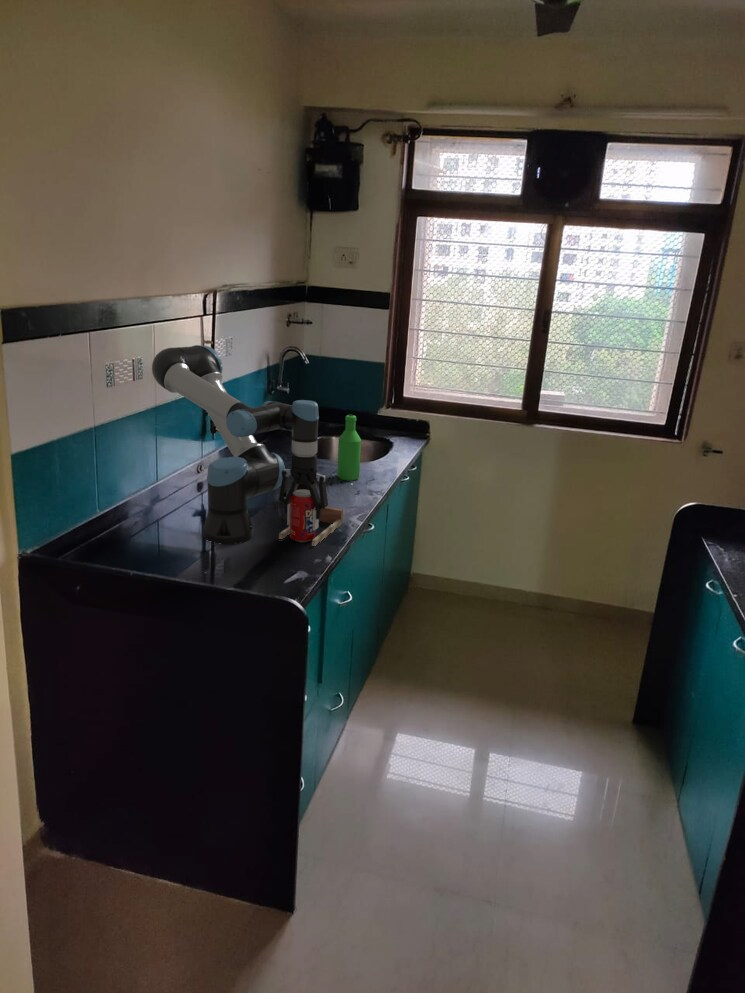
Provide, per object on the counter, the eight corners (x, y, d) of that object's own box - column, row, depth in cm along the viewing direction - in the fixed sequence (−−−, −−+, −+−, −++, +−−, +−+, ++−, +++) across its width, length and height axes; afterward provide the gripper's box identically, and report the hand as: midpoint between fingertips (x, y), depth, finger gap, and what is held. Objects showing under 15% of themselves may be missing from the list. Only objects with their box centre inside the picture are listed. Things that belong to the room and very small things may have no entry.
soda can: (286, 535, 218) (287, 489, 213) (311, 533, 221) (312, 487, 216) (293, 544, 211) (294, 497, 206) (318, 542, 214) (319, 495, 209)
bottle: (362, 480, 276) (365, 417, 268) (341, 482, 273) (344, 418, 265) (354, 474, 284) (357, 413, 276) (334, 475, 281) (336, 413, 273)
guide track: (314, 546, 210) (315, 531, 209) (278, 539, 214) (279, 524, 212) (342, 523, 230) (343, 509, 229) (309, 517, 234) (309, 503, 232)
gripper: (341, 455, 207) (338, 527, 215) (278, 446, 214) (278, 516, 221) (331, 461, 201) (329, 536, 208) (267, 451, 207) (266, 524, 214)
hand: (302, 526), depth 214 cm, fingers closed on soda can, 8 cm apart
